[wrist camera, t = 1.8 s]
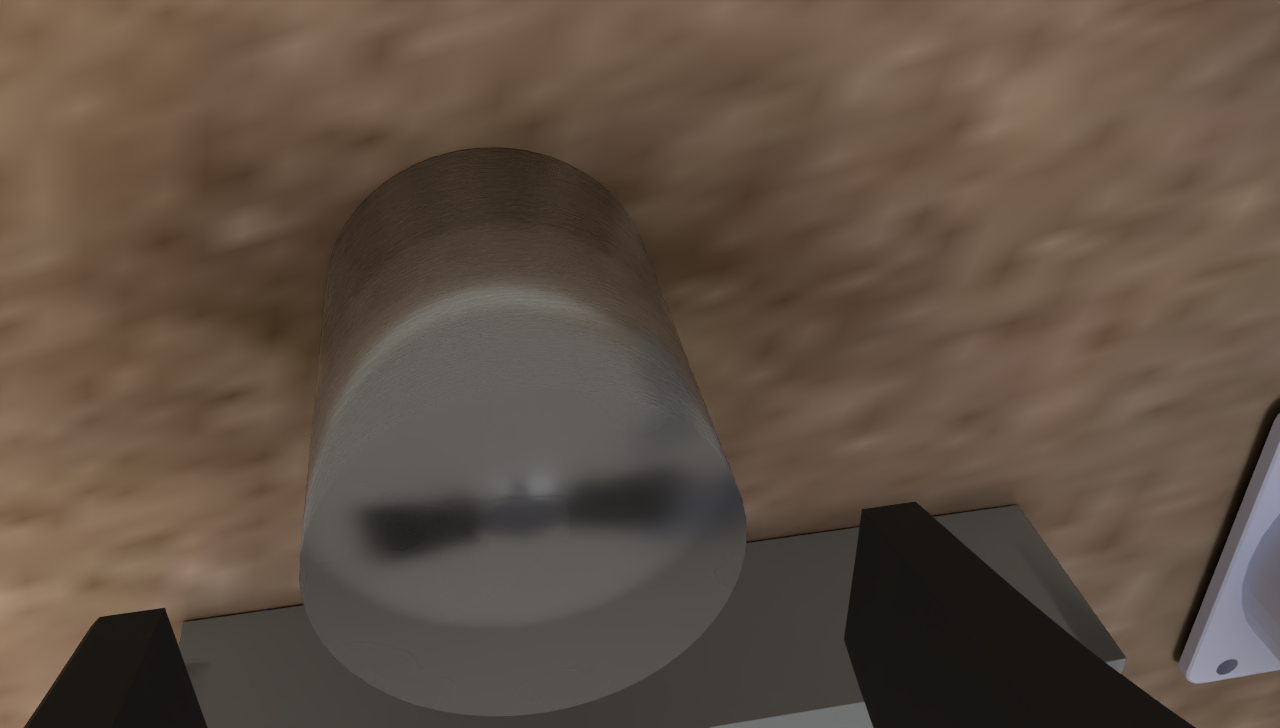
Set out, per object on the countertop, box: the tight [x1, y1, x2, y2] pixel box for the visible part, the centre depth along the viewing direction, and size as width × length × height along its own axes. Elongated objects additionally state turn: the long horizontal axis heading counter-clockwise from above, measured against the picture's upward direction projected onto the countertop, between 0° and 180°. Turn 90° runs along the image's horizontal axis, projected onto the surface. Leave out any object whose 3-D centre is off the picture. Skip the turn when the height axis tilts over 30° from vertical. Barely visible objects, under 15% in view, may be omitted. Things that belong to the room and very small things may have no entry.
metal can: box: [299, 148, 747, 716], centre depth 15 cm, size 5×5×6 cm
